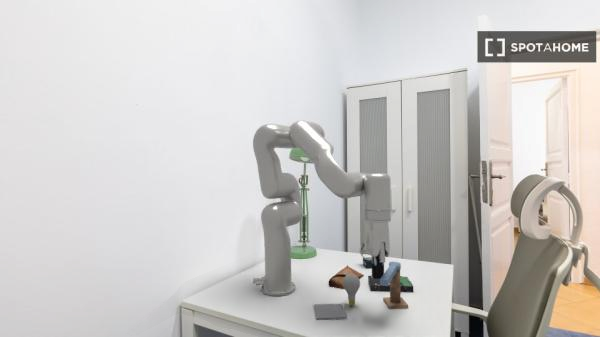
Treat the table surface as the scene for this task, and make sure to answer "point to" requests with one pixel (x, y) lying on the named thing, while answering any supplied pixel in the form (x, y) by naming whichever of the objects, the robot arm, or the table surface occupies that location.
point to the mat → (329, 311)
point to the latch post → (395, 294)
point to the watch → (366, 261)
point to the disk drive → (375, 285)
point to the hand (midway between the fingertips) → (377, 277)
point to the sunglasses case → (342, 277)
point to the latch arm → (390, 273)
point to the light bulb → (351, 287)
